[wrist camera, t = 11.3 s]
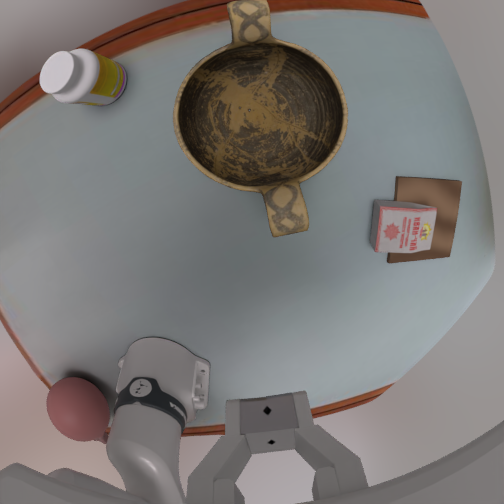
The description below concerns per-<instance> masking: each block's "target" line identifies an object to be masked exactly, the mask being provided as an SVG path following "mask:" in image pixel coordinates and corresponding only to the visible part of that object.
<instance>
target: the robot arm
mask: <svg viewBox="0 0 504 504" xmlns="http://www.w3.org/2000/svg"><path fill="white" fill-rule="evenodd" d="M118 365H119V367H120V368H121V371H120V375H119V379H118V383H117V387H116V392H117V393H118V398H117V399H116V402H115V408H114V414H115V417H114V420H113V423H112V426H111V430H110V433H109V436H108V440H107V443H106V450H107V455H108V458H109V460H110V461H111V463H112V464H113V466H114V467H115V468H116V469H117V471H118V472H119V474H120V475H121V477H122V479H123V482H124V484H125V488H126V491H124V490H122V489H119V488H117V487H115V486H113V485H111V484H109V483H106V482H104V481H102V480H100V479H98V478H95V477H92V476H89V475H86V474H83V473H80V472H77V471H74V470H71V469H69V468H61V469H58V470H55V471H53V472H51V473H49V474H48V475H45V474H42V473H40V472H38V471H35V470H33V469H31V468H29V467H27V466H24V465H22V464H20V463H13V464H11V465H9V466H7V467H6V468H4V469H3V470H1V471H0V504H245V501H244V496H243V495H242V493H241V492H240V490H239V489H238V488H237V486H236V484H235V482H236V480H237V479H238V477H239V476H240V474H241V472H242V471H243V469H244V467H245V466H246V464H247V463H248V461H249V459H250V457H251V454H257V453H267V452H274V451H283V450H292V449H295V450H296V451H297V452H298V453H299V454H300V455H301V456H302V457H303V459H304V460H305V461H306V462H308V464H309V465H310V466H311V467H312V468H313V469H314V470H315V471H316V472H315V476H314V482H313V487H312V493H313V499H314V501H310V502H304V503H297V504H504V421H502V422H501V423H500V424H498V425H497V426H495V427H494V428H493V429H491V430H489V431H488V432H486V433H485V434H483V435H482V436H480V437H478V438H477V439H475V440H473V441H472V442H470V443H468V444H467V445H465V446H464V447H461V448H460V449H458V450H456V451H454V452H452V453H450V454H448V455H447V456H445V457H443V458H441V459H439V460H437V461H434V462H432V463H430V464H428V465H426V466H424V467H422V468H419V469H417V470H414V471H412V472H410V473H407V474H405V475H402V476H400V477H397V478H394V479H392V480H389V481H386V482H383V483H380V484H377V485H374V486H371V487H368V483H367V480H366V476H365V473H364V470H363V466H362V463H361V460H360V458H359V457H358V456H357V455H355V454H354V453H353V452H351V451H350V450H349V449H348V448H346V447H345V446H344V445H343V444H341V443H340V442H339V441H337V440H336V439H335V438H334V437H332V436H331V435H330V434H329V433H328V432H326V431H325V430H324V429H323V428H321V427H320V426H319V425H314V423H313V418H312V414H311V410H310V405H309V401H308V397H307V393H306V391H300V392H294V393H292V392H291V393H285V394H279V395H273V396H266V397H259V398H248V399H235V400H227V401H226V420H225V436H221V437H220V439H219V440H218V441H217V443H216V444H215V445H214V446H213V448H212V449H211V450H210V451H209V453H208V454H207V455H206V456H205V458H204V459H203V460H202V461H201V463H200V464H199V465H198V466H197V467H196V469H195V470H194V471H193V472H192V473H191V475H190V476H189V477H188V485H187V497H186V498H185V495H184V492H183V489H182V485H181V482H180V476H179V448H180V439H181V434H182V433H183V431H184V429H185V427H186V423H189V422H191V421H193V420H195V418H196V411H197V410H200V409H202V410H203V409H204V408H205V407H207V404H208V390H209V375H210V363H209V362H208V361H206V360H204V359H202V358H199V357H197V356H195V355H193V354H192V353H191V352H189V351H188V350H187V349H186V348H184V347H183V346H181V345H179V344H177V343H175V342H172V341H170V340H166V339H162V338H143V339H140V340H137V341H135V342H134V343H133V344H132V345H131V346H130V347H129V349H128V351H127V354H126V355H125V356H123V357H122V358H120V359H119V362H118Z"/></svg>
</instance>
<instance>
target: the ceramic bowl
mask: <svg viewBox="0 0 504 504" xmlns="http://www.w3.org/2000/svg"><path fill="white" fill-rule="evenodd" d="M227 10H228V13H229V19H230V23H231V29H232V42H231V43H230V44H228V45H226V46H224V47H221V48H219V49H217V50H215V51H213V52H212V53H210V54H209V55H207V56H206V57H204V58H203V59H201V60H200V61H199V62H198V63H197V64H196V65H195V66H194V67H193V68H192V69H191V70H190V72H189V73H188V74H187V76H186V77H185V79H184V81H183V82H182V84H181V86H180V88H179V91H178V94H177V97H176V100H175V106H174V111H173V122H174V129H175V134H176V137H177V140H178V143H179V145H180V147H181V149H182V150H183V152H184V153H185V155H186V156H187V158H188V159H189V160H190V161H191V162H192V163H193V164H194V165H195V166H196V167H197V168H198V169H199V170H200V171H201V172H202V173H204V174H205V175H206V176H208V177H209V178H211V179H213V180H214V181H216V182H218V183H221V184H223V185H225V186H228V187H230V188H234V189H238V190H243V191H252V192H258V193H261V194H262V196H263V199H264V202H265V205H266V210H267V214H268V220H269V225H270V229H271V233H272V236H273V237H278V236H283V235H288V234H293V233H298V232H303V231H307V230H308V228H309V217H308V213H307V208H306V204H305V201H304V198H303V195H302V192H301V188H300V185H299V184H300V183H301V182H303V181H305V180H307V179H309V178H310V177H312V176H313V175H315V174H317V173H318V172H319V171H321V170H322V169H323V168H324V167H325V166H326V165H327V164H328V163H329V162H330V161H331V160H332V158H333V157H334V156H335V155H336V153H337V152H338V150H339V148H340V147H341V144H342V142H343V140H344V137H345V134H346V129H347V123H348V119H347V116H348V108H347V104H346V100H345V96H344V92H343V90H342V87H341V85H340V83H339V81H338V79H337V77H336V76H335V74H334V73H333V71H332V70H331V69H330V68H329V66H328V65H327V64H326V63H325V62H324V61H323V60H321V59H320V58H319V57H318V56H316V55H315V54H313V53H312V52H310V51H309V50H307V49H305V48H303V47H301V46H299V45H296V44H293V43H289V42H285V41H282V40H278V39H276V38H274V37H273V36H272V34H271V22H270V10H269V5H268V3H267V1H266V0H240V1H233V2H230V3H228V4H227ZM278 72H279V73H278ZM239 107H241V109H239ZM249 109H250V111H248V110H249Z"/></svg>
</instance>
